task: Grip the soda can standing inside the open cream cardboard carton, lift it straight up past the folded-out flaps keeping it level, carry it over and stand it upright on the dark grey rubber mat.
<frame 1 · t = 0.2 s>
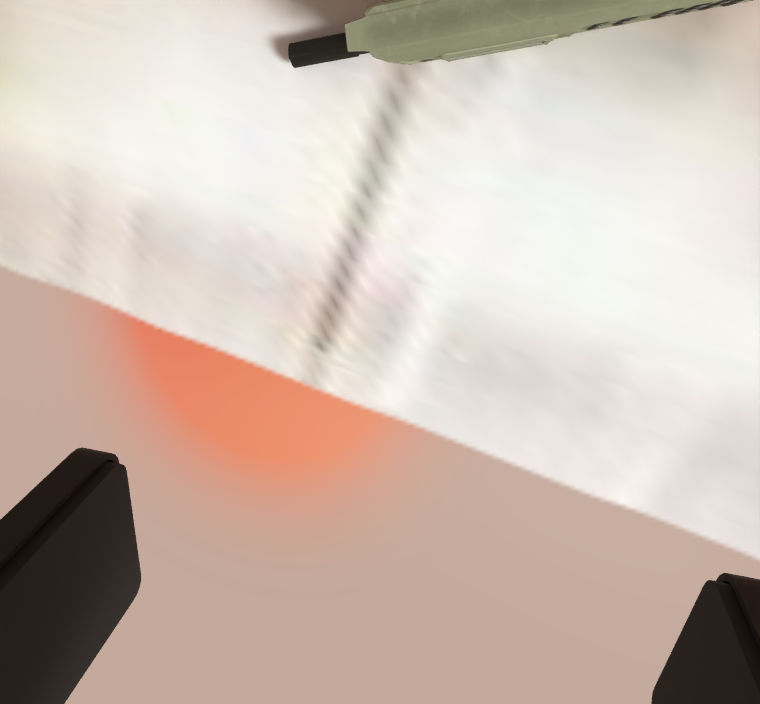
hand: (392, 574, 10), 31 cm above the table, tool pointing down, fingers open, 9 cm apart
handheld radio: (511, 15, 33), on the table
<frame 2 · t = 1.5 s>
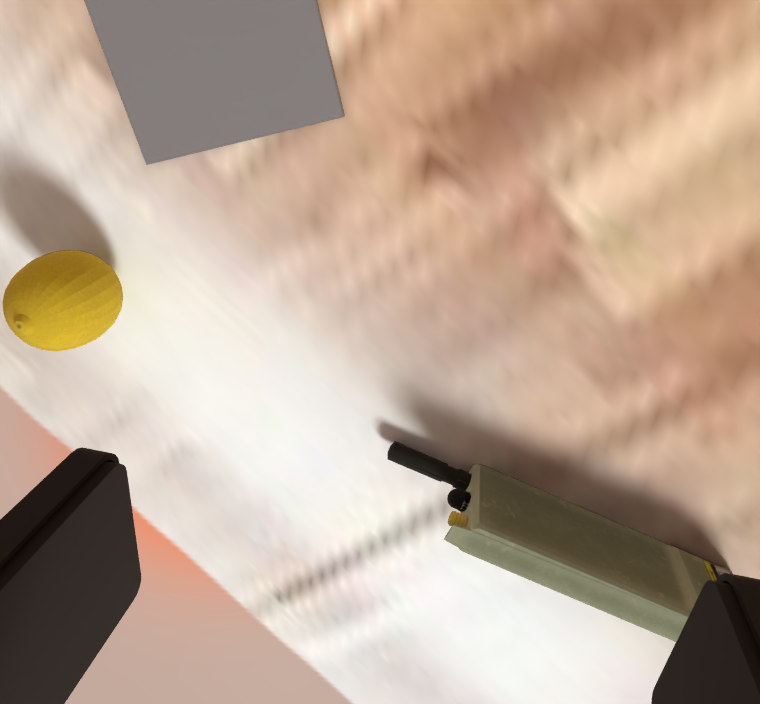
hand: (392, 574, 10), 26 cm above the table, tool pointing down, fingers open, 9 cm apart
mat: (205, 21, 31), on the table
handheld radio: (559, 507, 41), on the table
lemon: (107, 275, 39), on the table
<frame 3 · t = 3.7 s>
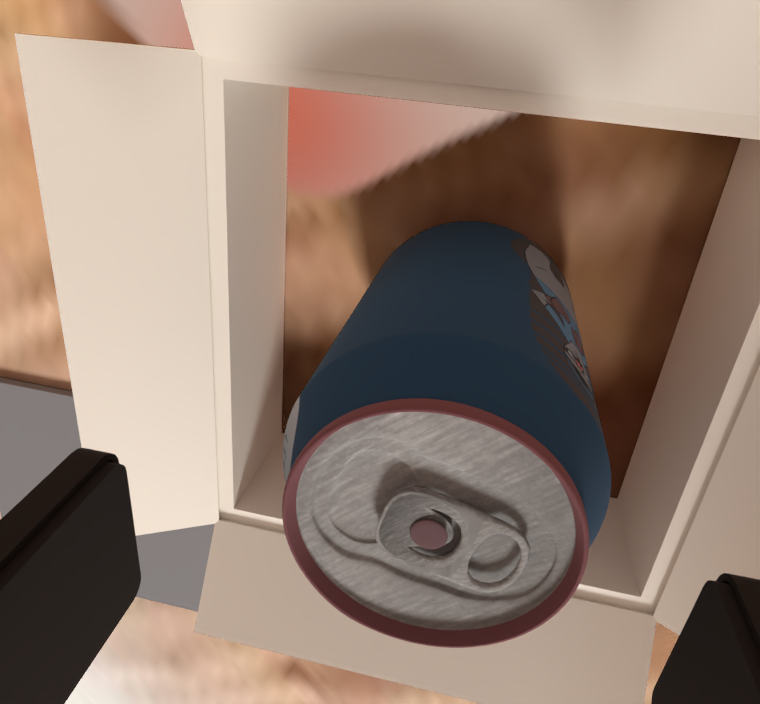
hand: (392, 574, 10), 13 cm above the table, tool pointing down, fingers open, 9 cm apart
mat: (106, 498, 30), on the table
carton: (469, 308, 22), on the table
soda can: (470, 305, 22), resting in carton
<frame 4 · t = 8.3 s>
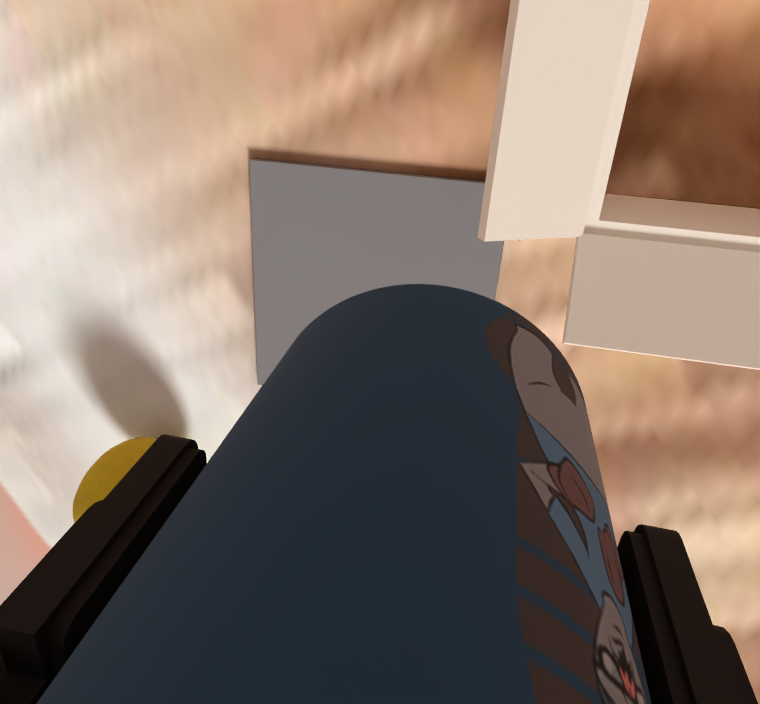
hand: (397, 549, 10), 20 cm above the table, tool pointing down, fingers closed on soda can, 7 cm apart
mat: (371, 294, 30), on the table
soda can: (430, 396, 15), point 15 cm above the table, touching gripper
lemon: (172, 448, 37), on the table
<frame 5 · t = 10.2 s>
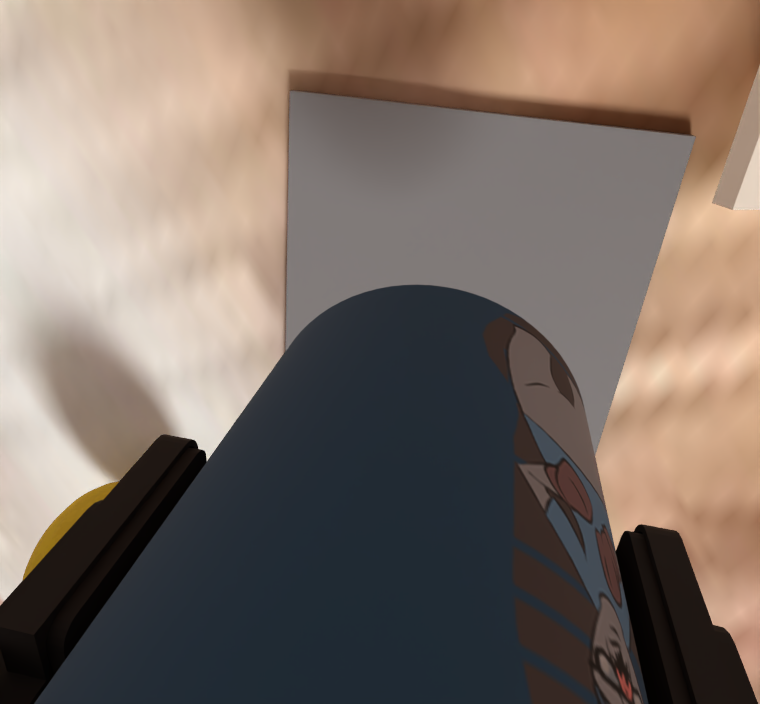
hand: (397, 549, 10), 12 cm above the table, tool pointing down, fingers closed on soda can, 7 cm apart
mat: (455, 295, 21), on the table
soda can: (429, 397, 15), point 7 cm above the table, touching gripper
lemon: (164, 491, 28), on the table
when the fingers open (7 cm above the table, at t = 11.8 s): soda can drops 1 cm, resting on mat.
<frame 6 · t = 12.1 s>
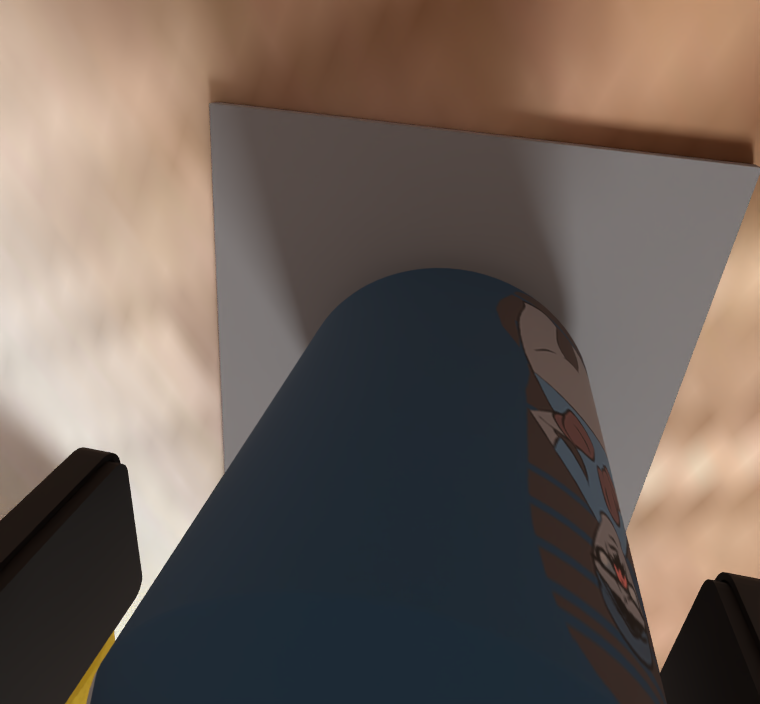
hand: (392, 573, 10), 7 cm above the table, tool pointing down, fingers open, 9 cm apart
mat: (436, 365, 16), on the table
soda can: (446, 373, 16), resting on mat
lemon: (91, 580, 23), on the table
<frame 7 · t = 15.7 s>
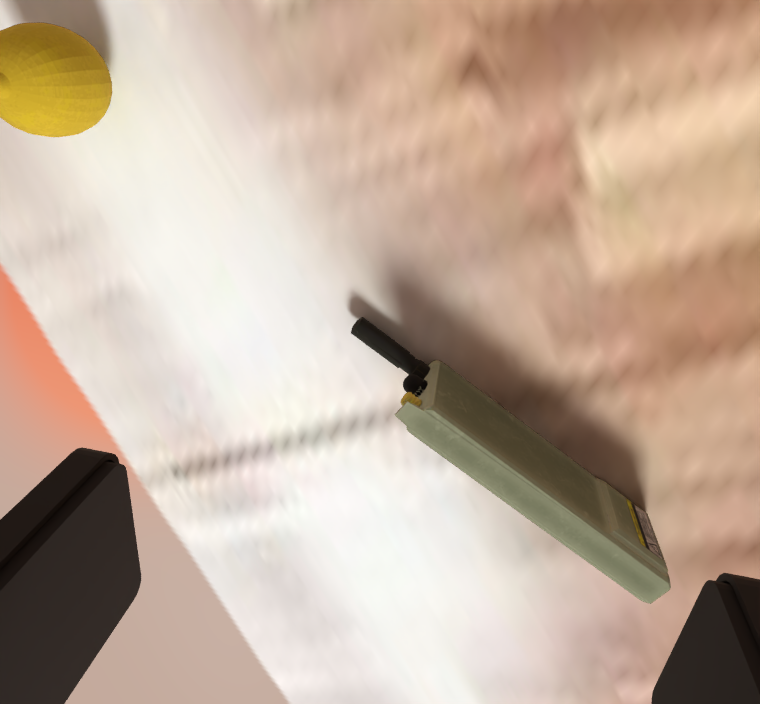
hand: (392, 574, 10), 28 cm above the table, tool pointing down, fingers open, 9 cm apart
handheld radio: (504, 422, 42), on the table
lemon: (96, 78, 36), on the table
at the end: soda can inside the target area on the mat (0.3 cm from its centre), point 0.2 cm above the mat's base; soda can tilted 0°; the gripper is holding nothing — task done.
